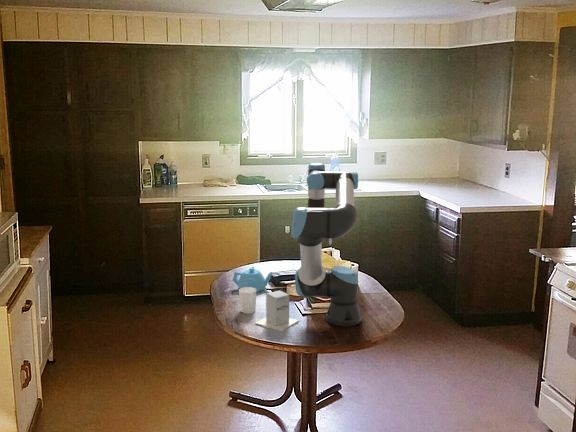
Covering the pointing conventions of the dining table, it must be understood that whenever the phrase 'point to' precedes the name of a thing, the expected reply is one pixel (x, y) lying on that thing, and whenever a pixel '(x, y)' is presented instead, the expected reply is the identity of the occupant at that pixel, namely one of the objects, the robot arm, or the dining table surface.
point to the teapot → (251, 279)
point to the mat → (278, 327)
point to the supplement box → (277, 307)
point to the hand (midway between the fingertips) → (315, 242)
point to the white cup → (247, 299)
